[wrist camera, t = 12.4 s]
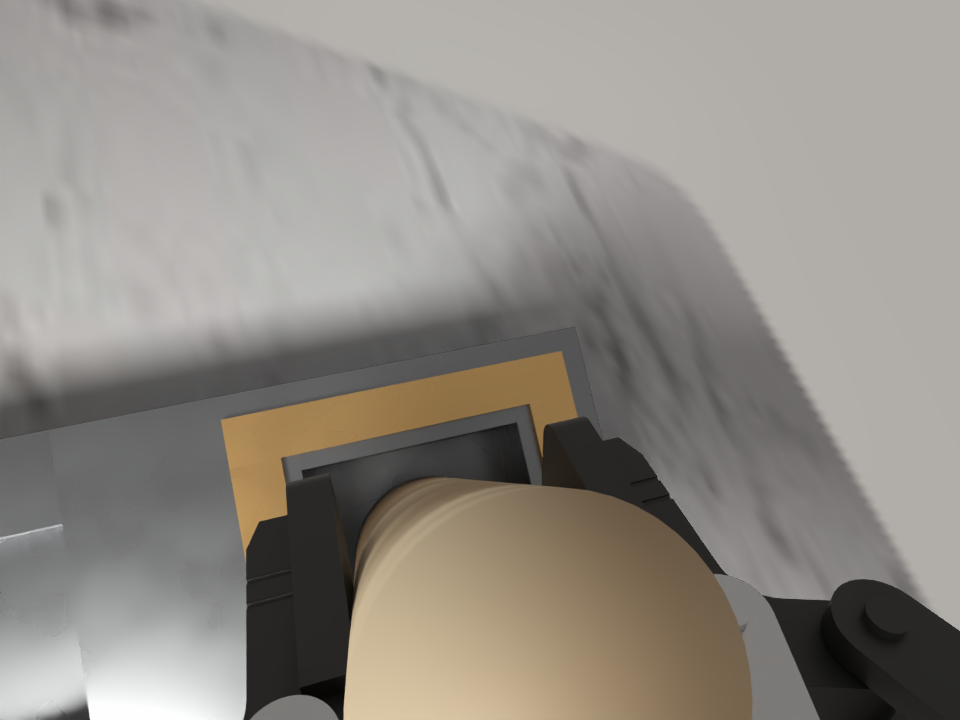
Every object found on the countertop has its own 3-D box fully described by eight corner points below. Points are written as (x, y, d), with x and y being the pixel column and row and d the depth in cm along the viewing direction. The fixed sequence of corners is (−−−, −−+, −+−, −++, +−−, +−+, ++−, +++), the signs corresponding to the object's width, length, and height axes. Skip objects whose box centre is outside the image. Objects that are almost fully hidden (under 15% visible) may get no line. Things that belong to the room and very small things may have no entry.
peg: (372, 646, 17) (392, 1018, 6) (343, 495, 18) (305, 543, 6) (517, 605, 18) (799, 854, 6) (485, 462, 18) (693, 447, 7)
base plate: (-163, 898, 16) (-338, 1041, 12) (-200, 500, 18) (-370, 509, 13) (610, 658, 21) (671, 704, 17) (537, 351, 22) (577, 325, 18)
